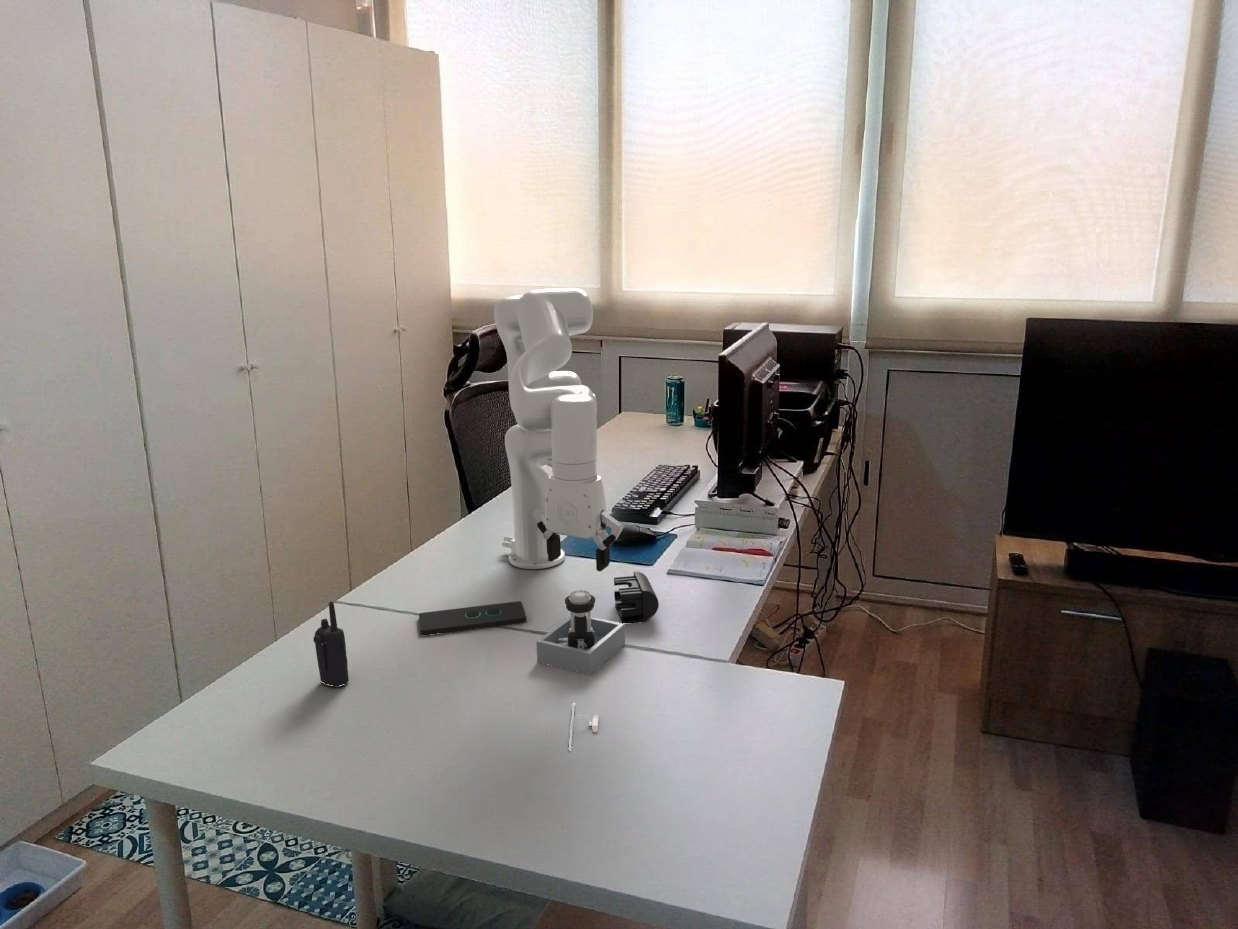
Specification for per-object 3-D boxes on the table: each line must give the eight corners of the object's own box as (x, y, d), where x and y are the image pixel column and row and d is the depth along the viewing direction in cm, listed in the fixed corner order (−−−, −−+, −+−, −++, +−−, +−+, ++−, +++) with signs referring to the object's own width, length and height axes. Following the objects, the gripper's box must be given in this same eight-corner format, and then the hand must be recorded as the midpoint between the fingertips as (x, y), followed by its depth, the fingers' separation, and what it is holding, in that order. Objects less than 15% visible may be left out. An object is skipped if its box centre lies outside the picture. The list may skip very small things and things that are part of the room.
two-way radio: (354, 682, 150) (344, 600, 146) (333, 694, 146) (323, 610, 142) (331, 675, 153) (321, 594, 149) (310, 686, 149) (299, 604, 145)
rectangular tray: (537, 662, 155) (536, 641, 154) (574, 632, 166) (574, 613, 165) (590, 675, 150) (589, 654, 149) (625, 644, 161) (624, 624, 160)
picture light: (571, 704, 143) (571, 692, 142) (598, 703, 143) (598, 692, 142) (567, 755, 129) (566, 742, 129) (597, 755, 129) (596, 742, 129)
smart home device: (526, 617, 170) (419, 630, 166) (527, 625, 171) (420, 639, 166) (520, 599, 178) (418, 612, 173) (521, 607, 178) (419, 620, 174)
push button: (558, 653, 156) (555, 601, 153) (560, 640, 161) (557, 588, 158) (596, 653, 156) (594, 600, 153) (596, 639, 161) (595, 587, 158)
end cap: (659, 622, 170) (658, 589, 168) (622, 625, 169) (621, 592, 167) (649, 601, 179) (648, 569, 177) (614, 604, 178) (613, 572, 176)
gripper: (519, 468, 150) (524, 562, 155) (609, 481, 142) (611, 580, 147) (543, 457, 156) (547, 548, 161) (631, 469, 148) (632, 564, 153)
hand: (578, 563), depth 154 cm, fingers open, 9 cm apart
